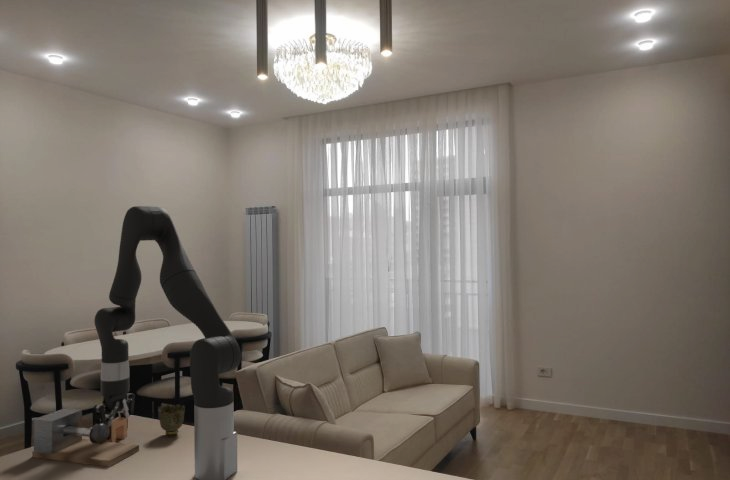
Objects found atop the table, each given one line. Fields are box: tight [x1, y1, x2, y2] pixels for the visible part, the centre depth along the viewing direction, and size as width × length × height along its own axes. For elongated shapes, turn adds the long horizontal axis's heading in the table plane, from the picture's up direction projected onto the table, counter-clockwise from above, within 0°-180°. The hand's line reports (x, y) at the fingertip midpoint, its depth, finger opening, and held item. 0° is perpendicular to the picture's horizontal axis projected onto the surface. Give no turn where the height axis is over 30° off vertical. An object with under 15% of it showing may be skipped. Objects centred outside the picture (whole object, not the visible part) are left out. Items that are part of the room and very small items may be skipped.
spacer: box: [106, 416, 128, 443], centre depth 154 cm, size 3×6×6 cm, turn 164°
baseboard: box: [31, 438, 140, 468], centre depth 144 cm, size 24×11×2 cm, turn 74°
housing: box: [33, 407, 83, 454], centre depth 146 cm, size 6×10×8 cm, turn 164°
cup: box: [157, 403, 186, 437], centre depth 158 cm, size 8×7×8 cm
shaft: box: [63, 423, 110, 444], centre depth 144 cm, size 12×5×5 cm, turn 74°
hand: (115, 435), depth 154 cm, fingers closed on spacer, 6 cm apart
